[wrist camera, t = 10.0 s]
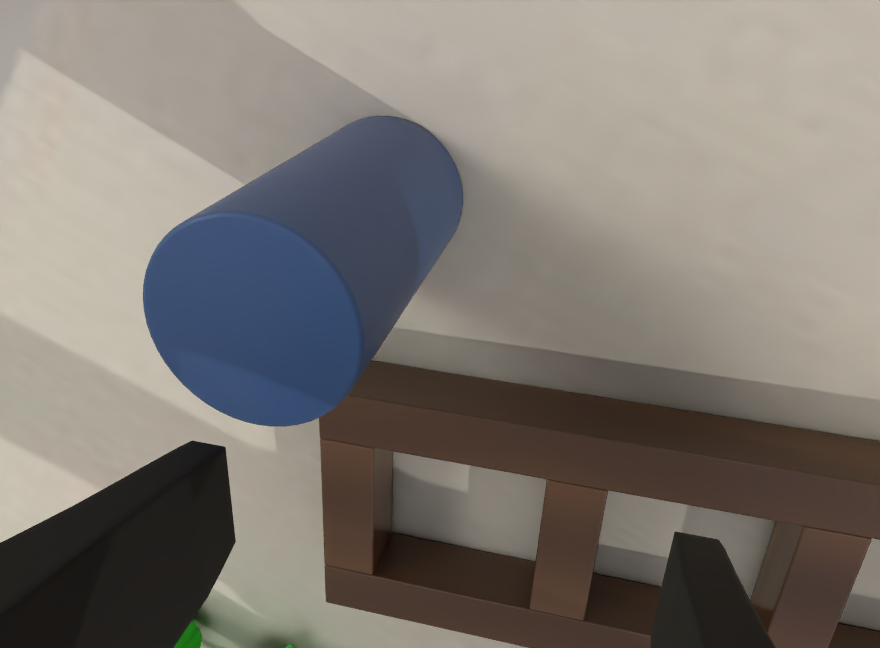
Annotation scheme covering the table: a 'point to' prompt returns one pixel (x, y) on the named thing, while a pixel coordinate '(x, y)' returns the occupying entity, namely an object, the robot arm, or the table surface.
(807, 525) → the peg board
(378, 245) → the peg
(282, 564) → the table surface
